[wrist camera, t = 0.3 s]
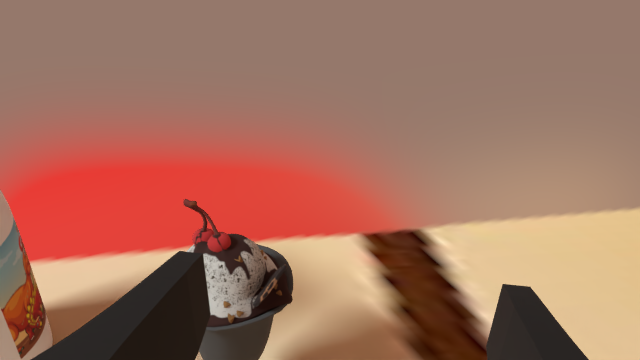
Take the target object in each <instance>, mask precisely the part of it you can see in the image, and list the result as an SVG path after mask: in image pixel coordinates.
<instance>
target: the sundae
mask: <svg viewBox="0 0 640 360" xmlns="http://www.w3.org/2000/svg"><path fill="white" fill-rule="evenodd" d="M184 205H185V206H186V207H189V208H191V209H193V210H195V211H197V212H199V213H200V214H201V216H202V217H203V221H204V225H203V228H201V229H199V230H197V231H195V233H194V234H193V243H194V245H193V246H192V247H190V248H189V250H188V251H187V252H194V253H203V258H204V266H205V274H206V282H207V290H208V297H209V305H210V313H211V315H210V318H209V321H208V324H207V327H206V331H205V334H204V337H203V340H202V343H201V346H200V349H199V352H200V354H201V356H202V358H203V359H204V360H258V359H259V358H260V356H261V354H262V353H263V351H264V348H265V346H266V343H267V340H268V337H269V334H270V330H271V325H272V321H273V316H274V314H276V313H278V312H280V311H281V310H282V309H283V308H284V307H285V306H286V305H287V304H290V303H291V302H292V296H291V294H292V290H293V276H292V270H291V268H290V266H289V264H288V262H287V261H286V259H285V258H284V257H283V256H282V255H281V254H279V253H278V252H277V251H275V250H273V249H270V248H268V247H264V246H261V245H258V244H256V243H255V242H253V241H251V240H250V239H248V238H246V237H244V236H242V235H239V234H226V233H224V232H218V231H217V229H216V227H215V225H214V224H213V222H212V220H211V218H210V217H209V216H208V214H207V213H206V212H205V211H204V210H202V209H201V208H199V207H198V206H197V202H196V201H189V200H187V199H185V200H184ZM203 213H204V214H203ZM205 216H206V217H207V219H208V221H209V222H210V224H211V226H212V228H213V230H211V229H208V228H207V220H206V217H205Z"/></svg>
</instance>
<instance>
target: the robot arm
mask: <svg viewBox="0 0 640 360" xmlns="http://www.w3.org/2000/svg"><path fill="white" fill-rule="evenodd" d="M210 315H211V313H210V305H209V297H208V290H207V282H206V274H205V266H204V258H203V253H194V252H184V251H179V252H178V253H176V254H175V255H174V256H173V257H171V258H170V259H169V260H168V261H166V262H165V263H164V264H163V265H161V266H160V267H159V268H158V269H156V270H155V271H154V272H153V273H152V274H150V275H149V276H148V277H147V278H145V279H144V280H143V281H142V282H141V283H139V284H138V285H137V286H136V287H134V288H133V289H132V290H131V291H129V292H128V293H127V294H125V295H124V296H123V297H122V298H120V299H119V300H118V301H116V302H115V303H114V304H113V305H111V306H110V307H109V308H107V309H106V310H104V311H103V312H102V313H100V314H99V315H97V316H96V317H95V318H93V319H92V320H91V321H89V322H88V323H86V324H85V325H84V326H82V327H81V328H79V329H78V330H77V331H75V332H74V333H72V334H71V335H69V336H68V337H66V338H65V339H63V340H61V341H60V342H58V343H57V344H55V345H54V346H52V347H50V348H49V349H47V350H45V351H44V352H42V353H40V354H39V355H37V356H36V357H34V358H32V359H30V360H195V358H196V356H197V354H198V352H199V349H200V346H201V343H202V340H203V337H204V334H205V331H206V327H207V324H208V321H209V318H210ZM486 348H487V358H488V360H589V359H588V358H587V357H586V356H585V355H584V354H583V352H582V351H581V350H580V349H579V348H578V346H577V345H576V344H575V343H574V342H573V340H572V339H571V338H570V337H569V336H568V334H567V333H566V332H565V331H564V329H563V328H562V327H561V325H560V324H559V323H558V322H557V320H556V319H555V318H554V317H553V315H552V314H551V313H550V311H549V310H548V309H547V308H546V306H545V305H544V304H543V302H542V301H541V300H540V299H539V297H538V296H537V295H536V294H535V292H534V291H533V290H532V289H531V287H526V286H516V285H507V284H503V285H502V289H501V293H500V296H499V300H498V304H497V308H496V312H495V315H494V319H493V323H492V327H491V331H490V334H489V338H488V342H487V346H486Z"/></svg>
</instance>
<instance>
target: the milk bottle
mask: <svg viewBox="0 0 640 360" xmlns="http://www.w3.org/2000/svg"><path fill="white" fill-rule="evenodd" d="M52 345H53V337H52V332H51V328H50V324H49V321H48V318H47V315H46V312H45V308H44V305H43V302H42V299H41V296H40V293H39V290H38V287H37V284H36V281H35V278H34V275H33V271H32V268H31V265H30V263H29V260H28V257H27V254H26V251H25V248H24V245H23V242H22V239H21V236H20V233H19V230H18V228H17V225H16V222H15V220H14V218H13V215H12V212H11V210H10V207H9V205H8V203H7V201H6V199H5V197H4V195H3V193H2V192H1V190H0V360H30V359H32V358H34V357H36V356H37V355H39V354H40V353H42V352H44V351H45V350H47V349H49V348H50V347H52Z"/></svg>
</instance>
